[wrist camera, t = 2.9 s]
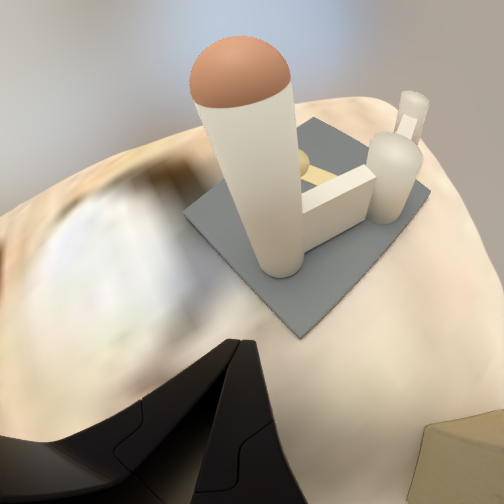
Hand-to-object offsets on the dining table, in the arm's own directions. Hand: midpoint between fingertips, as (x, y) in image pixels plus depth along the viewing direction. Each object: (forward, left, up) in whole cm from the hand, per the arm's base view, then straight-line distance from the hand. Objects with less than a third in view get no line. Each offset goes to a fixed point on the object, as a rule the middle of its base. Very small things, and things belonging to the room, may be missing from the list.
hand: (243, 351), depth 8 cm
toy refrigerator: (+4, -16, -11) cm, 20 cm away
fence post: (+8, +4, -9) cm, 13 cm away
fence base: (+17, +4, -11) cm, 20 cm away
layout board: (+11, +7, -11) cm, 17 cm away
